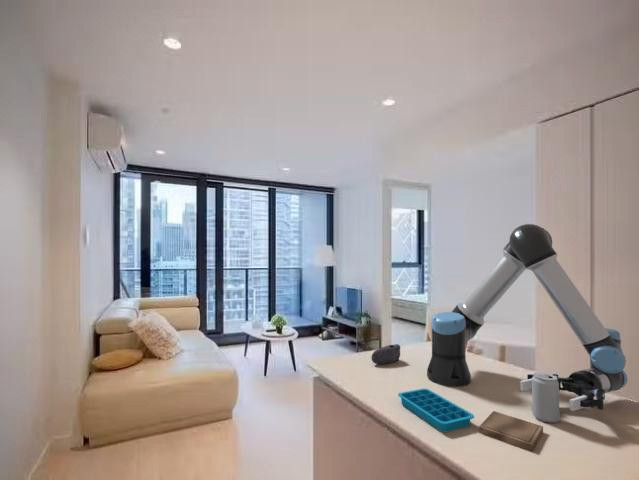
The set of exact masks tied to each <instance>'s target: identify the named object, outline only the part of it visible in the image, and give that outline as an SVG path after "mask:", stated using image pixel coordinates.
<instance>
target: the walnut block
mask: <svg viewBox="0 0 639 480" xmlns="http://www.w3.org/2000/svg"><path fill="white" fill-rule="evenodd" d="M478 433H479V434H482V435H485V436H488V437H491V438H494V439H497V440H499V441H502V442H504V443H507V444H510V445H513V446H515V447H518V448H522V449H524V450H527V451H530V452H533V451H534V450H535V448H536V446H537V445H538V442H539V440H540V438H541V436H543V435H542V434H543V433H544V426H543V425H541V424H537V423H534V422H530V421H527V420H525V419H520V418H518V417H515V416H511V415H508V414H504V413H501V412H498V411H495V410H492V412H491V413H490V414H489V415H488V416H487V417H486V419H484V420H483V422H482V423H481V424H480V425H478Z"/></svg>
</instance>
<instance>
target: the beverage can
mask: <svg viewBox="0 0 639 480" xmlns="http://www.w3.org/2000/svg"><path fill="white" fill-rule="evenodd" d="M533 375H534V376H533V377H532V389H531V403H532V404H531V406H532V407H531V408H532V409H531V410H532V411H531V413H532V415H533V416H534V418H536V419H537V420H539V421H541V422H544V423H549V424H555V423H557V422H559V421H560V390H559V382H558V381H557V377H555V376H553V374H550V373H546V372H534V373H533Z"/></svg>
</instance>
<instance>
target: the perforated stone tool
mask: <svg viewBox="0 0 639 480" xmlns="http://www.w3.org/2000/svg"><path fill="white" fill-rule="evenodd" d="M400 357H401V345H400V344H398V343H397V344H389V345H385V346H383V347H379V348H377V349H376V350H374V352H373V353H372V355H371V361H372V363H374V364H376V365H385V364H386V365H387V364H392V363H395V362H399V361H400Z"/></svg>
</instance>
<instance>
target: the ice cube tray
mask: <svg viewBox="0 0 639 480" xmlns="http://www.w3.org/2000/svg"><path fill="white" fill-rule="evenodd" d="M397 395H398V397H399V398H400V401H401V405H403V406H404V407H405V408H406V409H408V410H410V412H412V413H414V414H416V416H418V417H419V418H420V419H423V420H424V421H425V422H426V423H428V424H429V425H431V426H432V427H434V428H435V429H436V430H439V431H440V432H443V433H446V432H450V431H455V430H459V429H463V428H465V427H470V425H471V420H472V419H474V418H475V415H474V414H473V413H471V412H469V411H468V410H466V409H465V408H463V407H461V406H458V405H457V404H456V403H454V402H452V401H450V400H448V399H447V398H445V397H444V396H441V395H440V394H437V393H435V392H434V391H432V390H431V389H428V388H419V389H414V390H407V391H403V392H399V393H398V394H397Z"/></svg>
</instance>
